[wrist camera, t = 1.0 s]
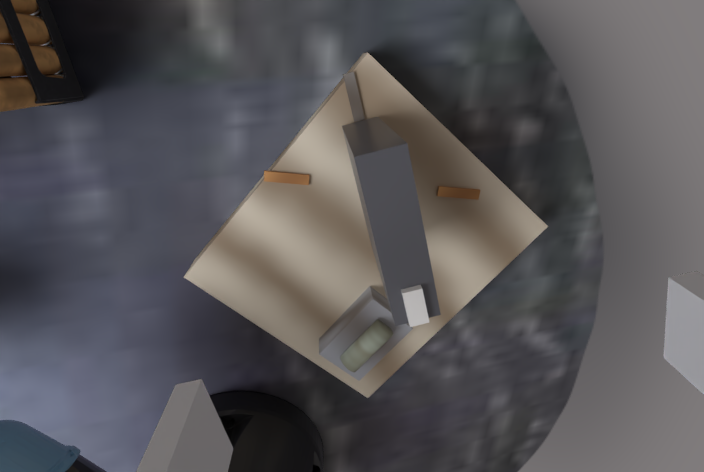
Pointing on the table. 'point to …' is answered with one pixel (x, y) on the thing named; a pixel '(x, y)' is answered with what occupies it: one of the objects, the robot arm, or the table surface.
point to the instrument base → (359, 236)
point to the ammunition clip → (33, 58)
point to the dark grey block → (393, 219)
